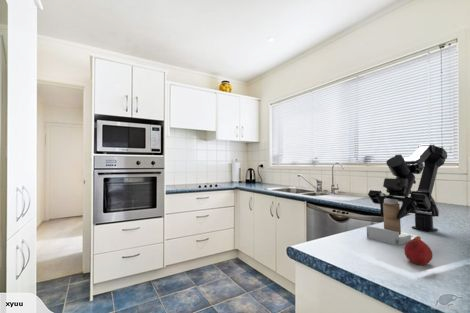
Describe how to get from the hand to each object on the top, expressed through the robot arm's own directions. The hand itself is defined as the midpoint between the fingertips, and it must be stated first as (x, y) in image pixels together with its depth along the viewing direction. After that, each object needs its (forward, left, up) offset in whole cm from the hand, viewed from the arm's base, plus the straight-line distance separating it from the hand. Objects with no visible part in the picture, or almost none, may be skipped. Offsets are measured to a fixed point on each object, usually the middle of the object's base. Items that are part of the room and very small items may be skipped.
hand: (389, 217), depth 81 cm
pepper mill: (-1, 0, -6) cm, 6 cm away
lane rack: (-2, 0, -8) cm, 9 cm away
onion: (+14, +17, -9) cm, 24 cm away
